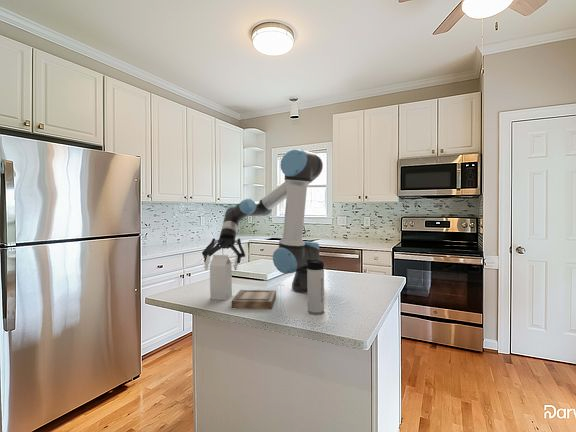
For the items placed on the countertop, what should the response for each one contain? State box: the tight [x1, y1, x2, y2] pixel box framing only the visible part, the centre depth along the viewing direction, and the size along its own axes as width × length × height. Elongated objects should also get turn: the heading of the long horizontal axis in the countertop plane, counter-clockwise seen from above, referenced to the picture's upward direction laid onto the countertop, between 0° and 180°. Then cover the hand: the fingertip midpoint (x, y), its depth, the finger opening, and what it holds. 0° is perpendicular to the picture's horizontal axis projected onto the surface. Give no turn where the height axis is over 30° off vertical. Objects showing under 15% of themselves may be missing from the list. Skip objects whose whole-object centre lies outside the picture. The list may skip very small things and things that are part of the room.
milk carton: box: [209, 254, 233, 301], centre depth 136 cm, size 7×7×19 cm
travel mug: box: [306, 260, 325, 316], centre depth 116 cm, size 6×7×20 cm
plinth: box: [230, 289, 277, 310], centre depth 129 cm, size 16×16×3 cm
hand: (220, 268), depth 139 cm, fingers open, 13 cm apart
